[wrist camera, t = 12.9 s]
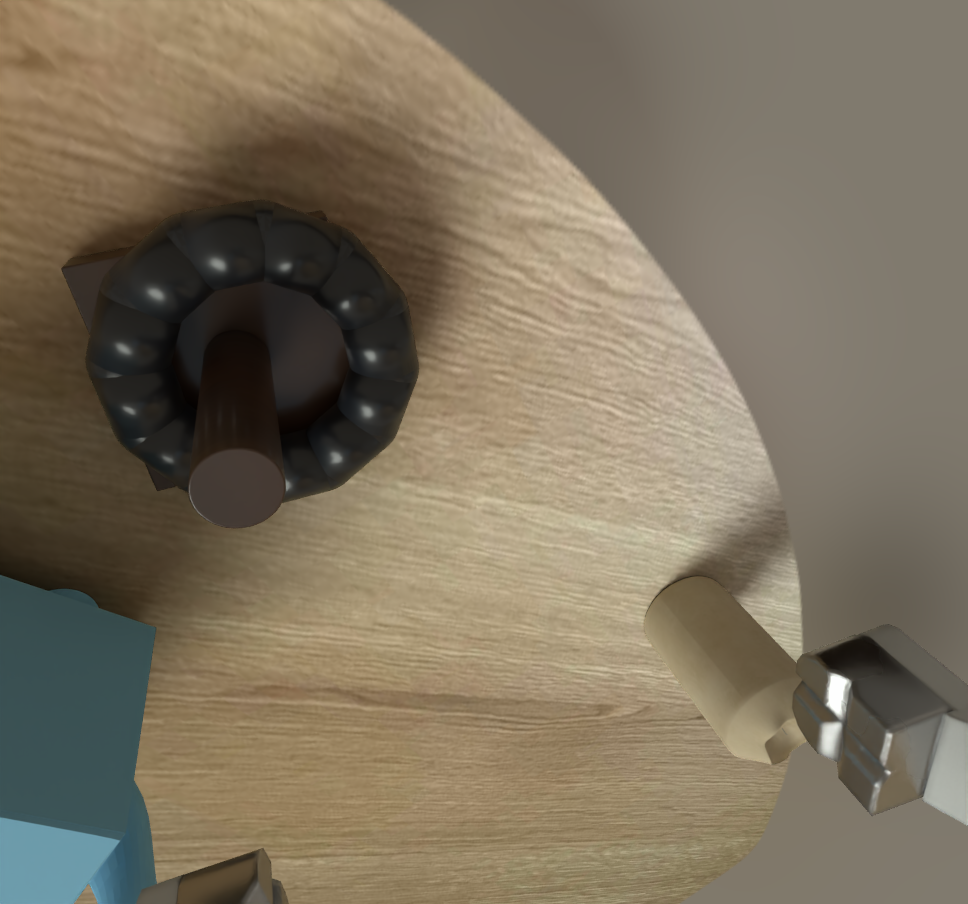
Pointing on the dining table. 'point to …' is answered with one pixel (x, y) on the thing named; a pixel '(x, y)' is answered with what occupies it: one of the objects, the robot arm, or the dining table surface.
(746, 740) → the candle
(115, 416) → the ring
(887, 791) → the robot arm
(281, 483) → the stand
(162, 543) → the dining table surface
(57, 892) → the teapot
